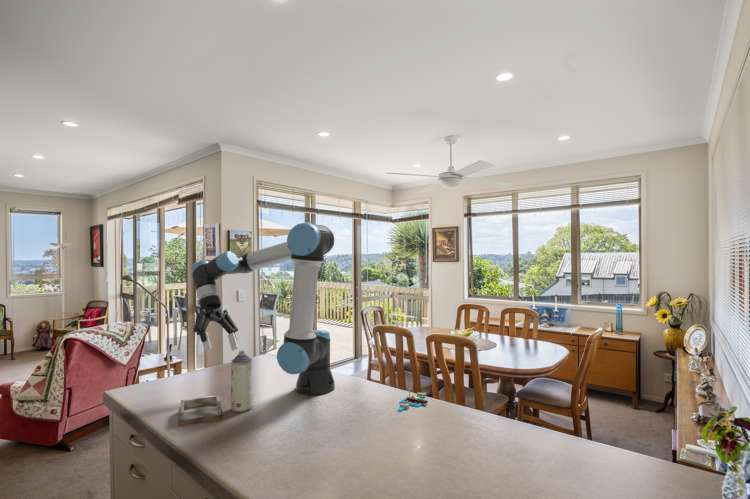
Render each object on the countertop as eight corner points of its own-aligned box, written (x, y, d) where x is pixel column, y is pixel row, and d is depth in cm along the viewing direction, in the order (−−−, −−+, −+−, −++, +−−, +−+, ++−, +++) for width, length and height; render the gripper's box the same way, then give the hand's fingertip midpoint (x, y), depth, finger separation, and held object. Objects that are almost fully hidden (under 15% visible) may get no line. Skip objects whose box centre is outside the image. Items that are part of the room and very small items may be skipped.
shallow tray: (220, 405, 142) (220, 394, 142) (222, 419, 130) (222, 406, 130) (179, 411, 136) (179, 399, 136) (178, 426, 124) (178, 413, 125)
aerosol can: (235, 405, 142) (235, 348, 142) (254, 405, 142) (254, 348, 142) (228, 413, 135) (228, 353, 135) (248, 412, 135) (248, 353, 135)
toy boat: (438, 398, 149) (415, 393, 155) (438, 383, 150) (415, 379, 155) (413, 416, 133) (389, 410, 138) (413, 399, 133) (389, 394, 138)
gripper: (225, 305, 169) (238, 353, 161) (175, 299, 147) (187, 355, 139) (238, 297, 167) (252, 345, 159) (190, 290, 145) (203, 345, 137)
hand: (222, 349), depth 149 cm, fingers open, 13 cm apart
